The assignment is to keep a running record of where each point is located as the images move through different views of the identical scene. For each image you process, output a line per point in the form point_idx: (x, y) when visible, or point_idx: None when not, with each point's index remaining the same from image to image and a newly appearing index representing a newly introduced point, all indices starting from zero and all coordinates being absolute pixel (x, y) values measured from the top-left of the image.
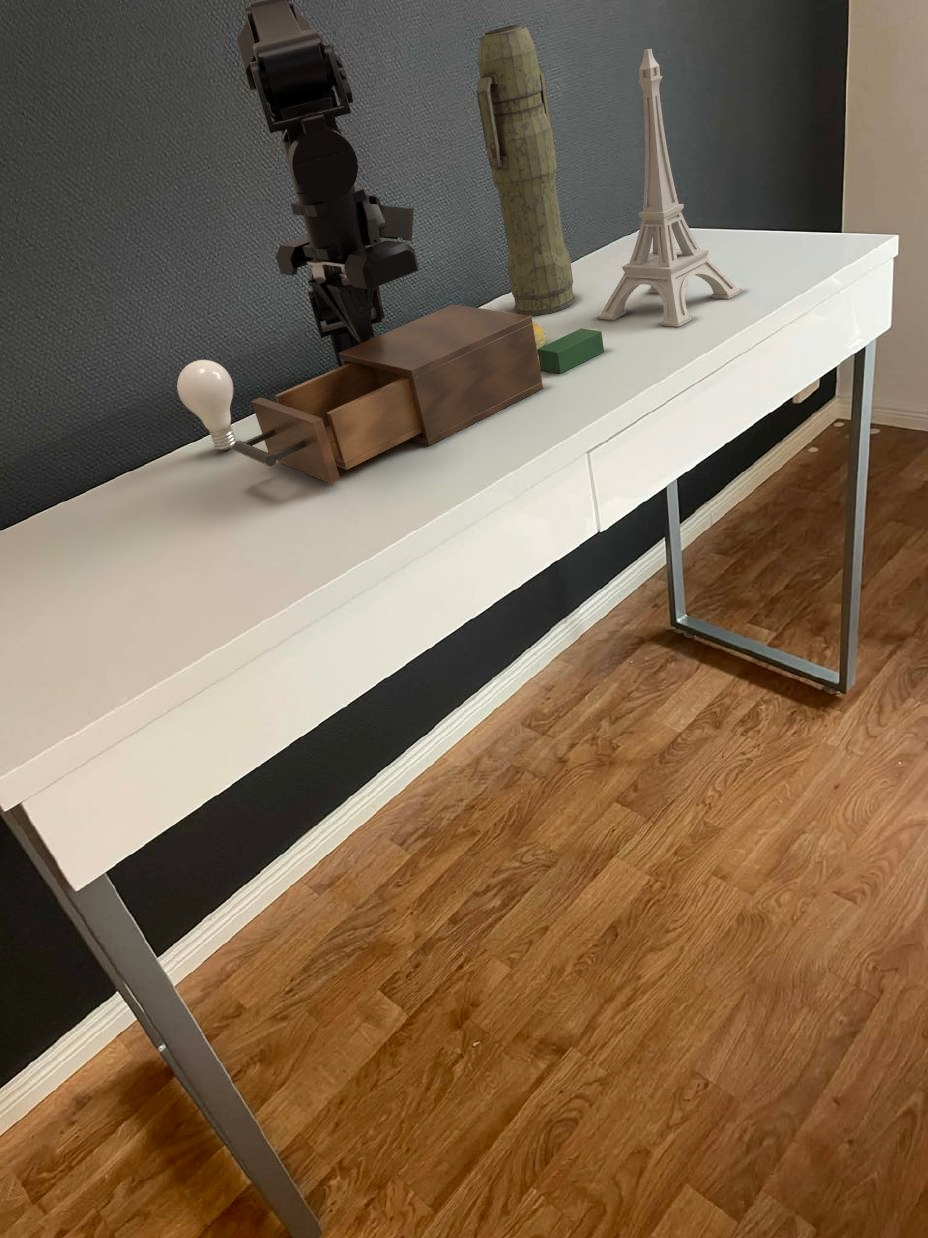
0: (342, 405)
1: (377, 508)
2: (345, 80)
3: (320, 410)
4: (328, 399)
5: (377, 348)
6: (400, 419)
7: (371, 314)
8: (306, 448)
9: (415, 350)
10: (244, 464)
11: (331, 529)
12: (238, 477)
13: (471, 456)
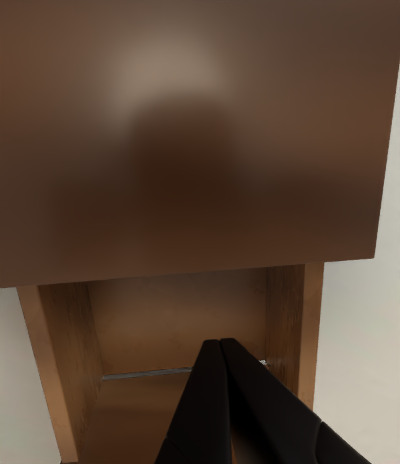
0: None
1: (376, 352)
2: None
3: (83, 335)
4: (75, 322)
5: (62, 201)
6: None
7: (296, 397)
8: None
9: (236, 146)
10: (46, 408)
11: (362, 405)
12: None
13: (393, 188)
